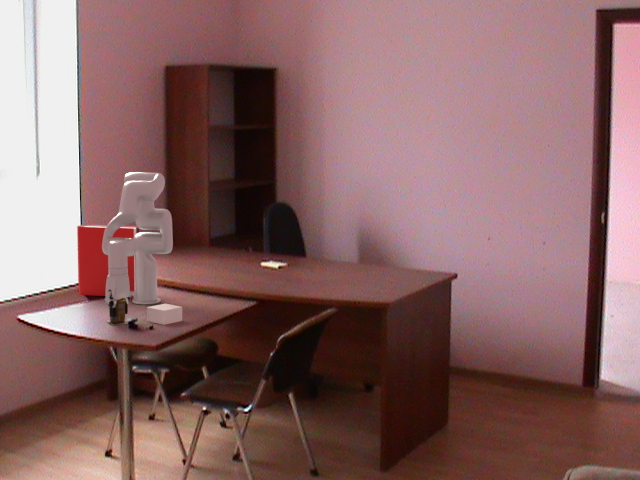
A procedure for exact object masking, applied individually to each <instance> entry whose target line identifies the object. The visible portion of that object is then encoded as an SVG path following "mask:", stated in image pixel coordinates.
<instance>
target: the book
mask: <svg viewBox="0 0 640 480" xmlns="http://www.w3.org/2000/svg"><path fill="white" fill-rule="evenodd" d="M107 225H108V224H107ZM107 225H106V224H105V225H104V224H79V225H77V226H76V227H77V228H76V229H77V234H76V235H77V273H78V274H77V277H78V279H77V280H78V281H77V282H78V284H77V285H78V287H77V289H78V295H79V296H96V297H98V296H99V297H106V281H107V276H108V275H109V269H108V255H105V254H104V253H103V250H102V242H103V236H104V231H105V229H106V227H107ZM137 233H140V229H139V228H138V227H137V226H136V225H124V226H122V227H120V228H119V229H117V230H116V231H115V232H114V234H113V236H112V237H114V238H132V239H133V238H134V236H135V235H136V234H137ZM127 264H128V277H129V285H130V292H131V291H136V281H135V255H133V256H128V257H127ZM130 298H134V296H131V297H130Z"/></svg>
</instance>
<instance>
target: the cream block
mask: <svg viewBox="0 0 640 480" xmlns="http://www.w3.org/2000/svg"><path fill="white" fill-rule="evenodd" d="M146 315H147V316H146V320H147V321H146V322H149V323H154V324H158V325H164V326H165V325H169V324H170V325H171V324H173V323H174V324H175V323H178V322H182V321H183V306H179V305H174V304H169V303H163V304H157V305H152V306H147V307H146Z"/></svg>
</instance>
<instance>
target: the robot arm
mask: <svg viewBox="0 0 640 480" xmlns="http://www.w3.org/2000/svg"><path fill="white" fill-rule="evenodd" d="M123 182H124V184H123V186H122V189H121V195H120V196H121V197H120V202H119V203H120V204H119V207H118V213H117V215H116V216H113V218H112V219H111V220H110V221H109V222H108V223H107V227H106V229H105V231H104V236H103V242H102V250H103V253H104V254H105V255H108V269H109V275H108V276H107V281H106V296H105V298H104V302H105V304H107V306H108V309H109V318H110V317H117V308H116V307H115V306H116V302H117V300H120V299H122V298H124V300H125V315H127V314H128V312H129V309H128V308H129V306H128V305H129V301H130V299H131V298H132V297H131V296H134V297H133V298H132V299H131V300H132V301H131V303H133V304H136V305H155V304H159V303H161V302H162V301H161V298H160V297H158V263H157V260H156V258H155V257H154V254H155V255H167V254H171V252H172V250H173V246H174V242H173V241H174V240H173V234H174V233H173V218H172V214H171V212H170V210H168V209H166V208H156V207H155V201H156V200H158V198H159V196H160V195H161V193H162V192H163V191H164V189H165V186H166V185H165V184H166V180H165V176H164V175H163V174H162V173H160V172H146V171H145V172H143V171H141V172H140V171H135V172H128V173H126V174H125V175H124V179H123ZM134 222H135V226H137V227H138V228H139V230H144V231H141V232H140V231H139V233H137V234H136V235H135V236H134V238H133V239H132V238H114V237H112V236H113V234H114V232H115V231H116V230H117V229H119V228H120V227H122V226H128V224H132V223H134ZM145 230H147V231H145ZM152 231H153V232H152ZM154 231H155V232H154ZM156 231H159V232H156ZM133 255H135V281H136V291H131V292H130V285H129V277H128V264H127V257H128V256H133ZM112 298H113V299H112ZM112 301H114V302H113V303H112Z"/></svg>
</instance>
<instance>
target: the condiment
mask: <svg viewBox="0 0 640 480" xmlns="http://www.w3.org/2000/svg"><path fill="white" fill-rule="evenodd" d="M112 299H113V298H112ZM113 302H114V301H112V303H113ZM115 307H116V308H117V317H110V316H109V320H106V322H107V323H108V324H109V325H112V326H115V325H118V326H120V325H121V326H122V325H129V324H128V323H129V322H128V321H127V320H126V314H125V300H124V298H122V299H120V300H117V302H116V306H115Z"/></svg>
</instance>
